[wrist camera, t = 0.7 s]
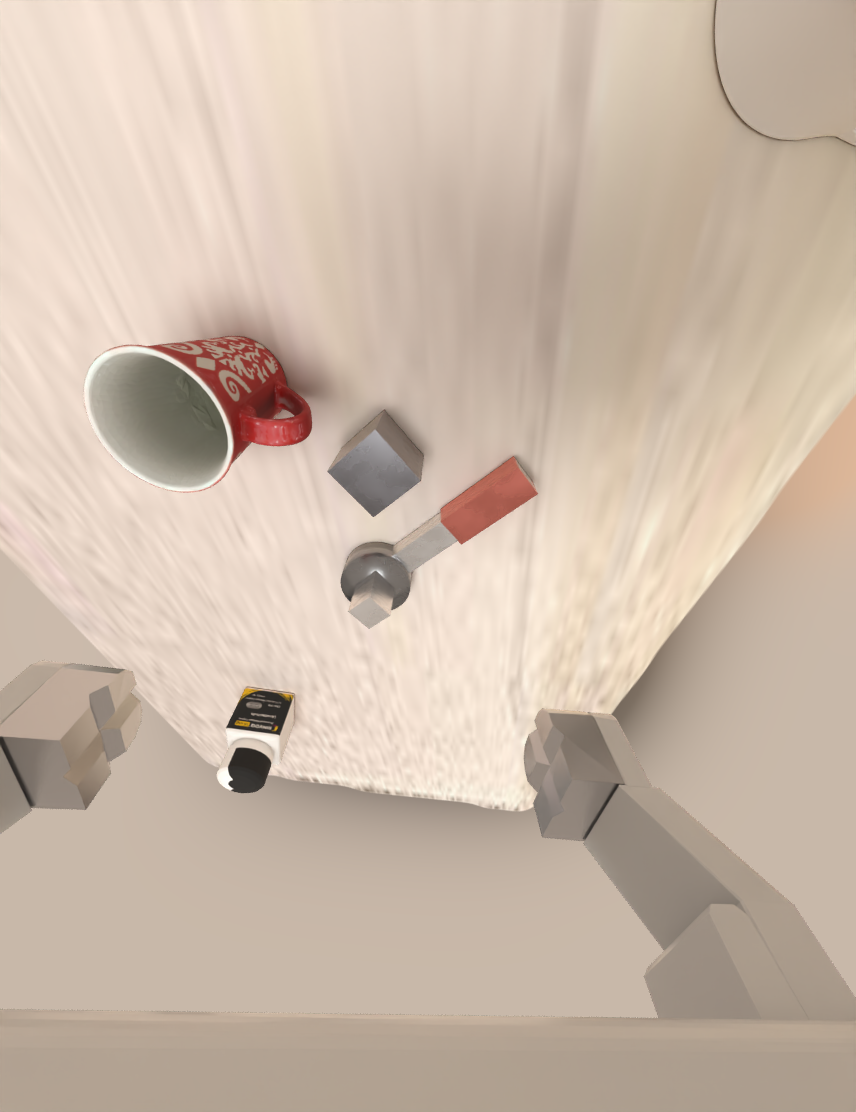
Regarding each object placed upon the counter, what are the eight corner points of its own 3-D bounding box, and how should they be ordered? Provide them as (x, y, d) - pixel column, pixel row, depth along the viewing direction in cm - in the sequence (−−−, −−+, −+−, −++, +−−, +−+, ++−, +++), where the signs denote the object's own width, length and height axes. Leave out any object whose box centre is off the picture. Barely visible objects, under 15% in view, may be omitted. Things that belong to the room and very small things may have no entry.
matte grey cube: (384, 409, 38) (375, 429, 33) (423, 455, 40) (420, 480, 35) (341, 447, 40) (327, 471, 35) (381, 489, 42) (373, 517, 37)
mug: (200, 422, 39) (102, 480, 28) (186, 313, 34) (61, 330, 23) (333, 448, 40) (291, 513, 29) (340, 345, 35) (291, 376, 24)
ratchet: (501, 439, 39) (512, 469, 33) (543, 496, 42) (561, 534, 36) (332, 565, 48) (315, 608, 42) (377, 605, 51) (368, 650, 45)
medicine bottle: (295, 692, 61) (266, 774, 51) (294, 721, 65) (267, 802, 55) (245, 685, 60) (206, 766, 50) (248, 715, 64) (212, 795, 54)
